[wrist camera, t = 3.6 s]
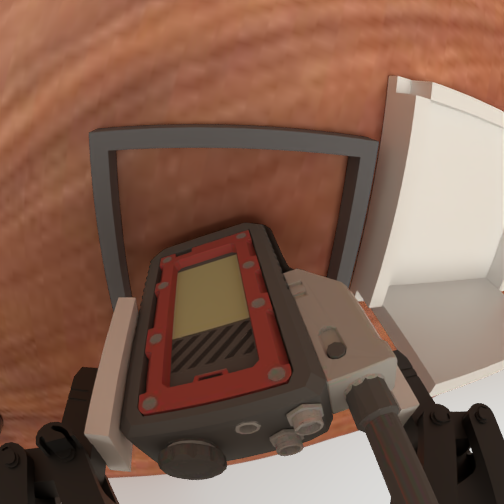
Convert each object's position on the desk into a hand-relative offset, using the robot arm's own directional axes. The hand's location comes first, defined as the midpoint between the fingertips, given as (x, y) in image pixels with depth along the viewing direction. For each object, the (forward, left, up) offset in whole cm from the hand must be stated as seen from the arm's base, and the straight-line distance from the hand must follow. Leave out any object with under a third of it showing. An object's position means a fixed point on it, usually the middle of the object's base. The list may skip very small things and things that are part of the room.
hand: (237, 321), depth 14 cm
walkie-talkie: (0, 0, -7) cm, 7 cm away
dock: (+16, +4, -6) cm, 18 cm away
